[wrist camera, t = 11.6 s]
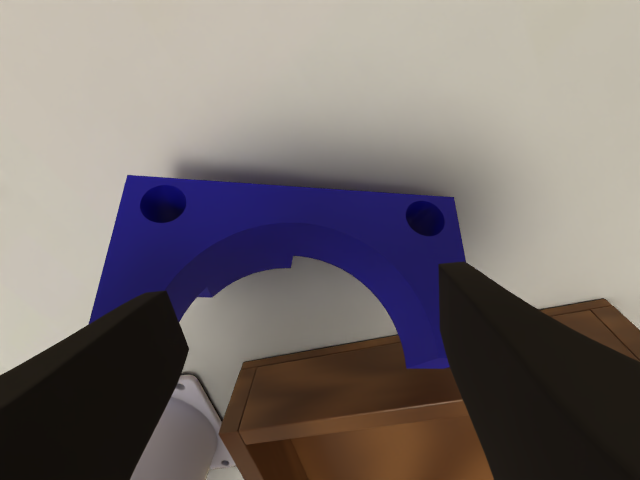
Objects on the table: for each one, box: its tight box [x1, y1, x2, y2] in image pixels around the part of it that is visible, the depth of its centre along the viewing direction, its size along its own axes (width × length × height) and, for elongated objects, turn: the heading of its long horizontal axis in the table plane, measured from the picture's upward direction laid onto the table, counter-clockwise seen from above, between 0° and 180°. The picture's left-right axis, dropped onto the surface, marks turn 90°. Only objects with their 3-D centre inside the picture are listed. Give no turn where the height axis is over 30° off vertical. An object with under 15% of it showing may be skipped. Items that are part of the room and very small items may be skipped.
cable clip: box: [89, 175, 466, 369], centre depth 14 cm, size 12×4×6 cm
